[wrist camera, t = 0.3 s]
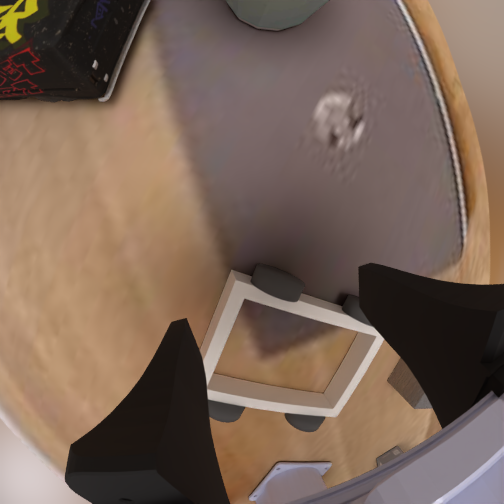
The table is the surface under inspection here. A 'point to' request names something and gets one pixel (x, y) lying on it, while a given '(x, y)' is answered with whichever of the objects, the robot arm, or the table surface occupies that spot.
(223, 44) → the table surface
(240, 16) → the disposable coffee cup
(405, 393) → the engine block
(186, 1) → the table surface
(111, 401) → the table surface
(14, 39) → the toy van
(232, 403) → the chassis
